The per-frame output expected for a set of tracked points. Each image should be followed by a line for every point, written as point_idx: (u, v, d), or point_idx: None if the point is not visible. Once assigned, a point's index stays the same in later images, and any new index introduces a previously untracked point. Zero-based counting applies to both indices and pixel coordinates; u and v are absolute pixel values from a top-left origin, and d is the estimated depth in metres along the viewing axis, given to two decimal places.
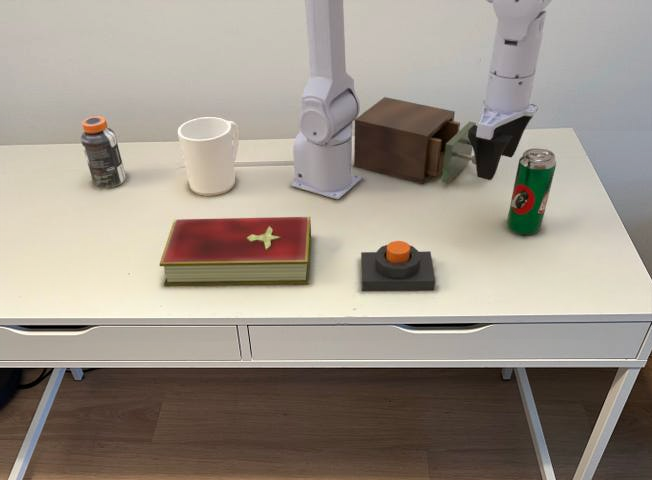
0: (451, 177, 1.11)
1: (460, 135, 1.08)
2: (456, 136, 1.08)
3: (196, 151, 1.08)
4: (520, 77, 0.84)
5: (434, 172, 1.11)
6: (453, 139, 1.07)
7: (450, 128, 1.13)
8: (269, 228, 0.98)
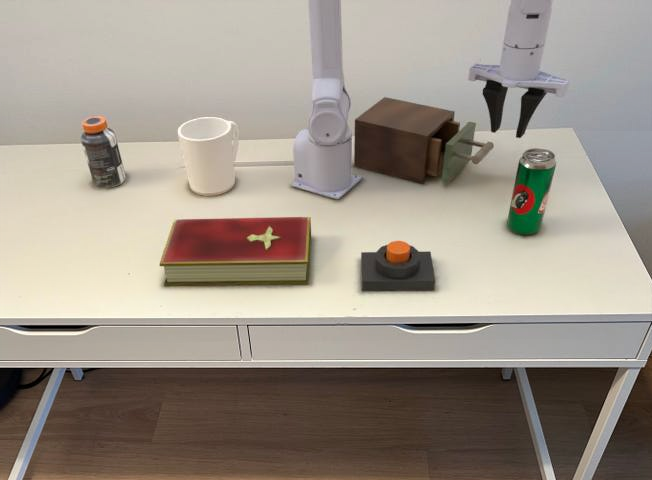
0: (451, 177, 1.11)
1: (460, 135, 1.08)
2: (456, 136, 1.08)
3: (196, 151, 1.08)
4: (504, 43, 0.94)
5: (434, 172, 1.11)
6: (453, 139, 1.07)
7: (450, 128, 1.13)
8: (269, 228, 0.98)
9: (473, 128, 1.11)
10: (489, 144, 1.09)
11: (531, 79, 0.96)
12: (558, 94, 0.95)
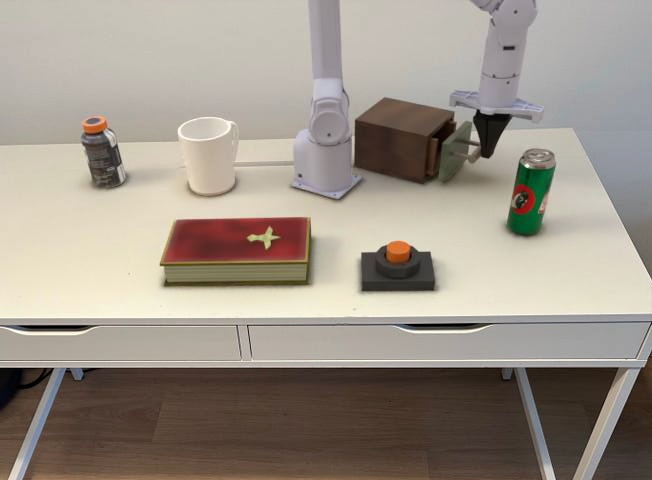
0: (448, 176, 1.11)
1: (456, 134, 1.08)
2: (452, 135, 1.08)
3: (196, 151, 1.08)
4: (482, 72, 0.99)
5: (431, 171, 1.12)
6: (449, 138, 1.07)
7: (447, 127, 1.13)
8: (269, 228, 0.98)
9: (469, 128, 1.11)
10: None
11: (508, 107, 1.00)
12: (534, 121, 1.00)
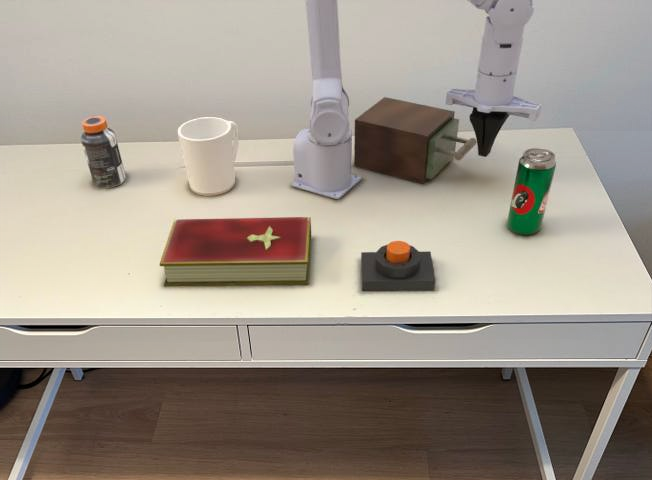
0: (435, 173, 1.12)
1: (443, 131, 1.09)
2: (439, 132, 1.09)
3: (196, 151, 1.08)
4: (479, 70, 0.99)
5: None
6: (436, 135, 1.08)
7: None
8: (269, 228, 0.98)
9: (456, 125, 1.12)
10: (472, 140, 1.10)
11: (505, 104, 1.00)
12: (531, 118, 1.00)
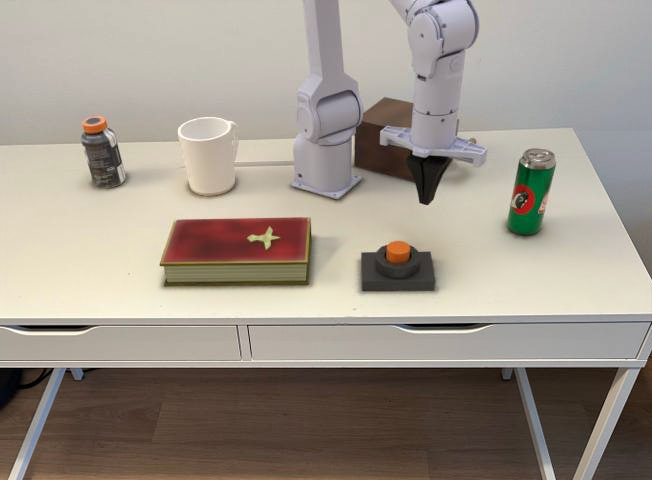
0: None
1: None
2: None
3: (196, 151, 1.08)
4: (413, 107, 0.84)
5: None
6: None
7: None
8: (269, 228, 0.98)
9: (456, 125, 1.12)
10: (472, 140, 1.10)
11: (445, 148, 0.85)
12: (475, 164, 0.84)
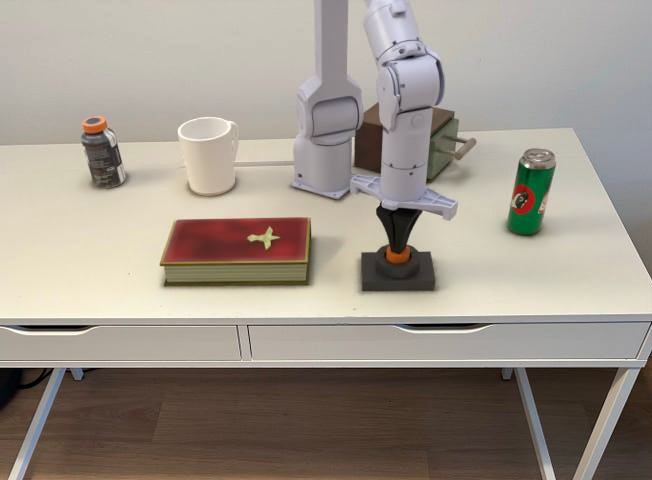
0: (435, 173, 1.12)
1: (443, 131, 1.09)
2: (439, 132, 1.09)
3: (196, 151, 1.08)
4: (382, 160, 0.82)
5: None
6: (436, 135, 1.08)
7: None
8: (269, 228, 0.97)
9: (456, 125, 1.12)
10: (472, 140, 1.10)
11: (415, 200, 0.83)
12: (445, 217, 0.83)
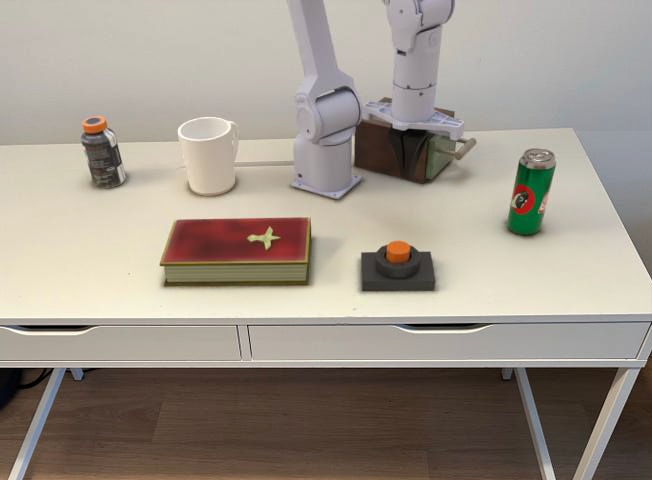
0: (435, 173, 1.12)
1: None
2: None
3: (196, 151, 1.08)
4: (393, 82, 0.87)
5: None
6: (436, 135, 1.08)
7: None
8: (269, 228, 0.97)
9: None
10: (472, 140, 1.10)
11: (424, 121, 0.88)
12: (452, 137, 0.88)
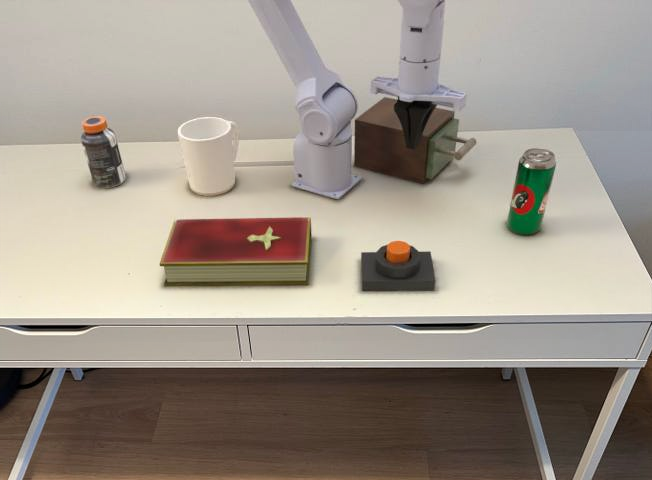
0: (435, 173, 1.12)
1: (443, 131, 1.09)
2: (439, 132, 1.09)
3: (196, 151, 1.08)
4: (400, 56, 0.93)
5: None
6: (436, 135, 1.08)
7: None
8: (269, 228, 0.97)
9: (456, 125, 1.12)
10: (472, 140, 1.10)
11: (429, 93, 0.94)
12: (455, 108, 0.94)
